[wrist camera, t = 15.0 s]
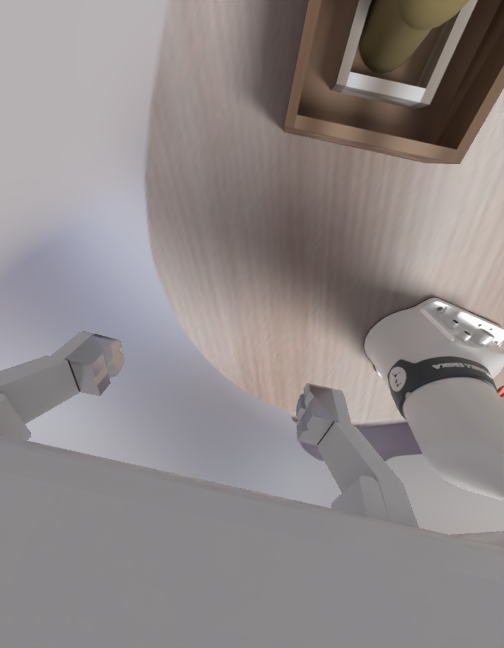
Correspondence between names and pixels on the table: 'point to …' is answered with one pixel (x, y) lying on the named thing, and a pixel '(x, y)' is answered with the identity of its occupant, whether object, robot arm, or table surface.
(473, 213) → the table surface
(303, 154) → the table surface
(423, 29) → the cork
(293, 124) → the walled box
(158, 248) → the table surface
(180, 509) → the robot arm
